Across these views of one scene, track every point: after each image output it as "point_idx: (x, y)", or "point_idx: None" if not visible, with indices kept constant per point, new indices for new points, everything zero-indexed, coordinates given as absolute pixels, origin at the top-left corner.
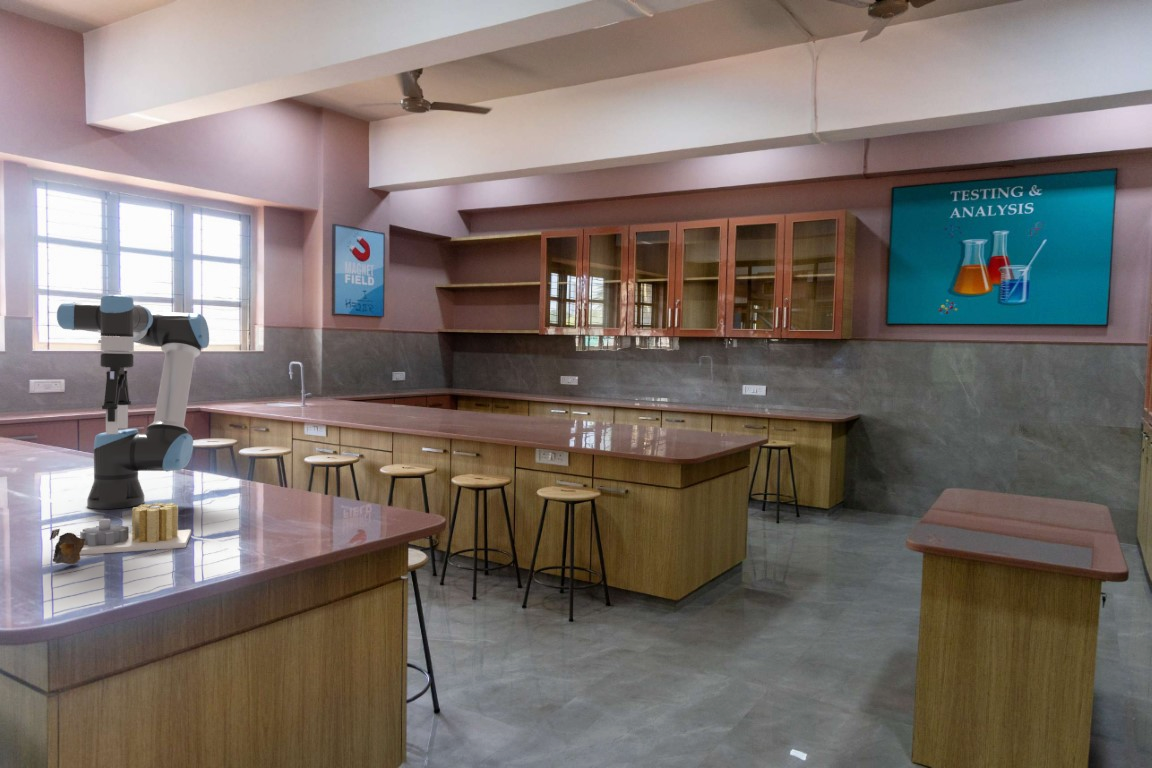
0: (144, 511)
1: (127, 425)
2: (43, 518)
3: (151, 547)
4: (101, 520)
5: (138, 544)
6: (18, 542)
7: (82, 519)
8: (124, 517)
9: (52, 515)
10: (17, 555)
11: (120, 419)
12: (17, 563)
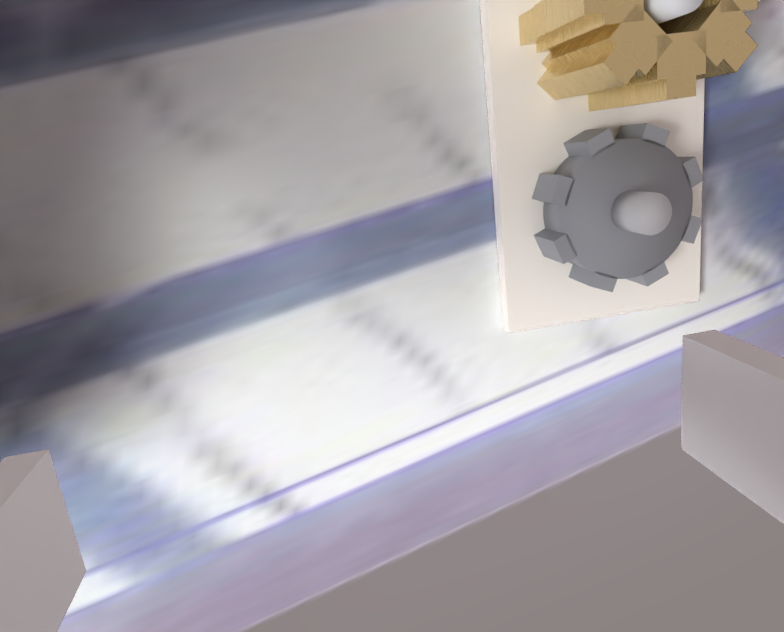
0: (748, 23)
1: (15, 473)
2: (100, 593)
3: None
4: (662, 222)
5: None
6: (481, 496)
7: (127, 449)
8: (91, 295)
9: None
10: (643, 424)
11: (19, 620)
12: None
